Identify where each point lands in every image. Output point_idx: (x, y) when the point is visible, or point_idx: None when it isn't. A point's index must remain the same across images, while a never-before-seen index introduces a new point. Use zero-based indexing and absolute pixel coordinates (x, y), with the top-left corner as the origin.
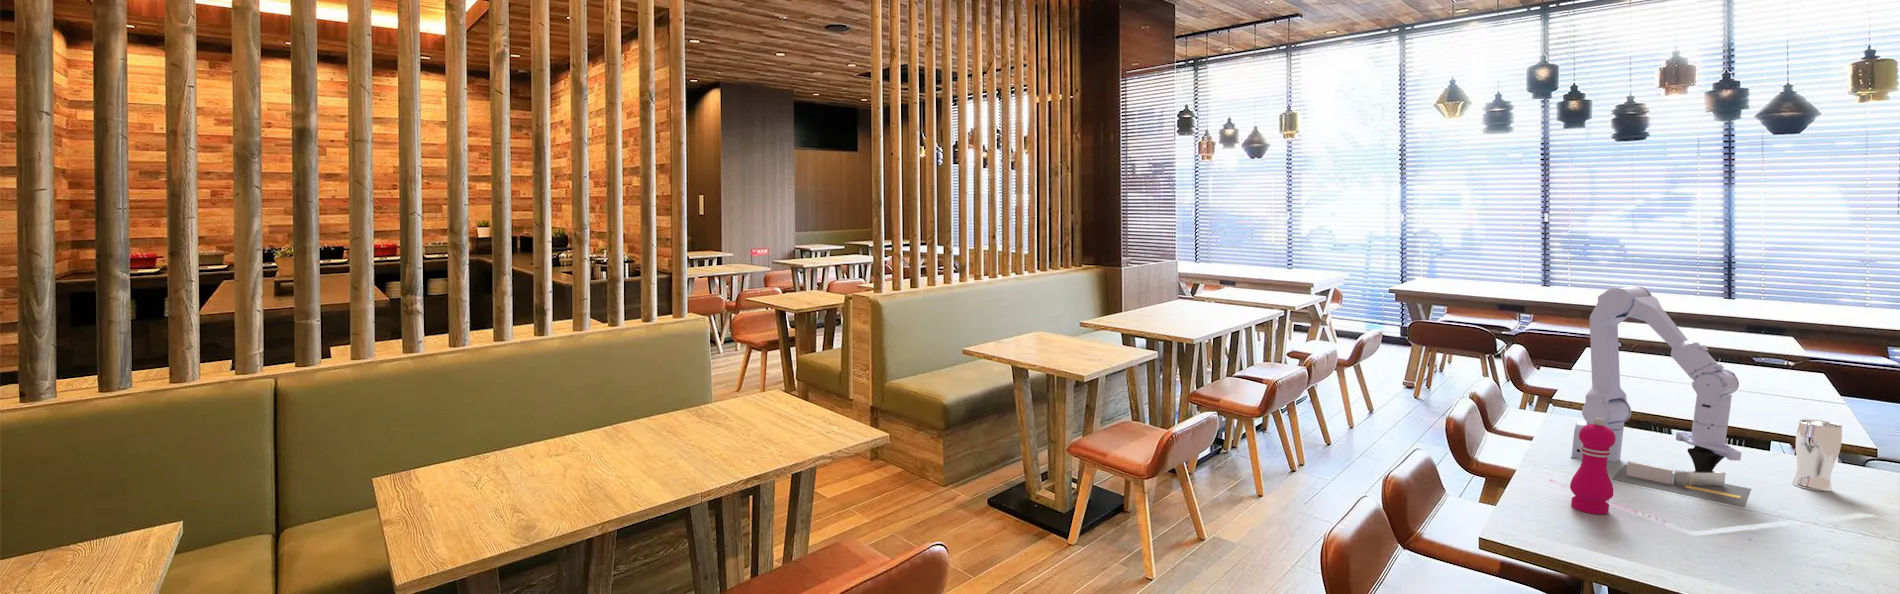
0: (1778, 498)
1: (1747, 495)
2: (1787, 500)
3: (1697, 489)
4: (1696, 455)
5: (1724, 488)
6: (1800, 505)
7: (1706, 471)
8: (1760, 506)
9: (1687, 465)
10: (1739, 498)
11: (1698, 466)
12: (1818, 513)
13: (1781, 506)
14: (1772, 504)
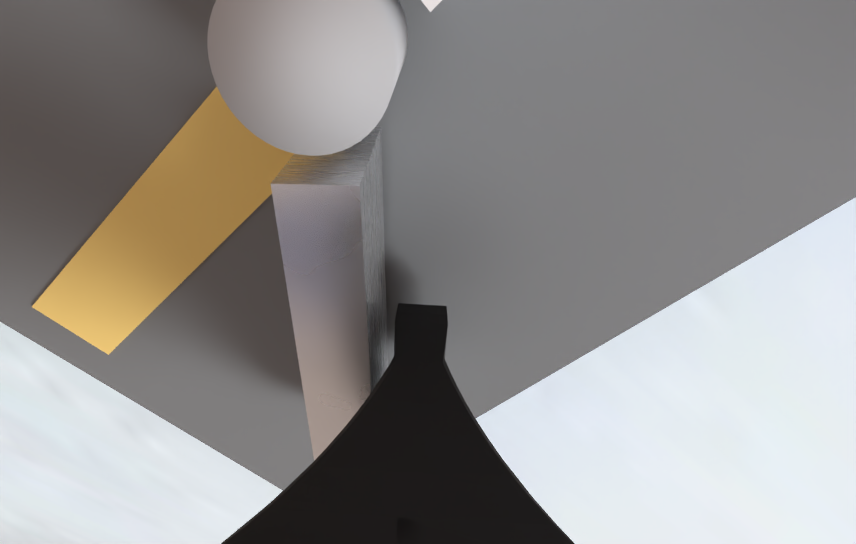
0: (232, 528)
1: (153, 406)
2: (206, 539)
3: (206, 121)
4: (352, 542)
5: (295, 379)
6: (131, 536)
7: (355, 410)
8: (6, 351)
9: (825, 530)
10: (32, 302)
11: (387, 400)
12: (8, 522)
13: (69, 456)
14: (94, 440)
